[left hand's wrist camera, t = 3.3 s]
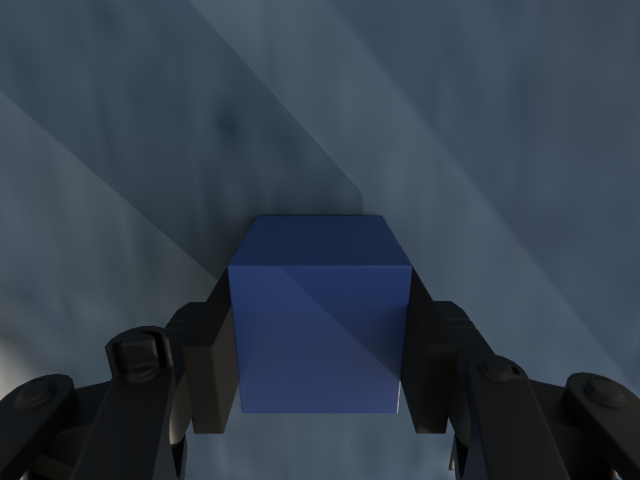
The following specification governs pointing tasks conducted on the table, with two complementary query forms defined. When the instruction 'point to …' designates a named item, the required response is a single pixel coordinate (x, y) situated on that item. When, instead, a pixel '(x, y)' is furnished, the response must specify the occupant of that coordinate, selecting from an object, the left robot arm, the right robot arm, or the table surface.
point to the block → (319, 315)
